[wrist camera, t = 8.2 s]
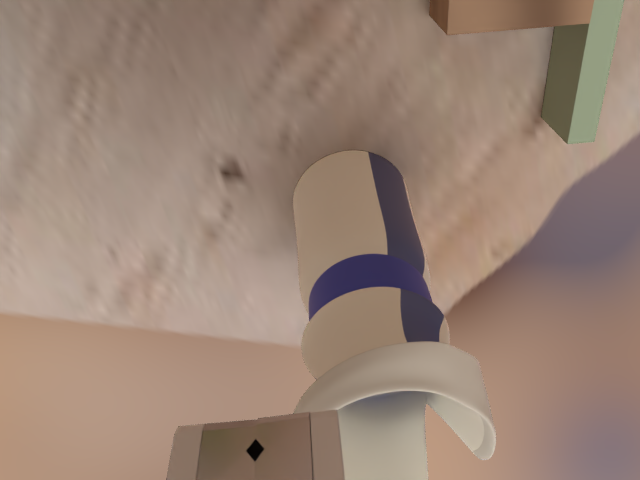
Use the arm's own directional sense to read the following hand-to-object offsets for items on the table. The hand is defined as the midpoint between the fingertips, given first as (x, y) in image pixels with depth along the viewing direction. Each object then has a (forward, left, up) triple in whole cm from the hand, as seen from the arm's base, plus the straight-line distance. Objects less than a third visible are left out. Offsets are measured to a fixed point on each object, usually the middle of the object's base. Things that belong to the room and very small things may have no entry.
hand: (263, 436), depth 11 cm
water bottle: (+5, -9, -26) cm, 28 cm away
